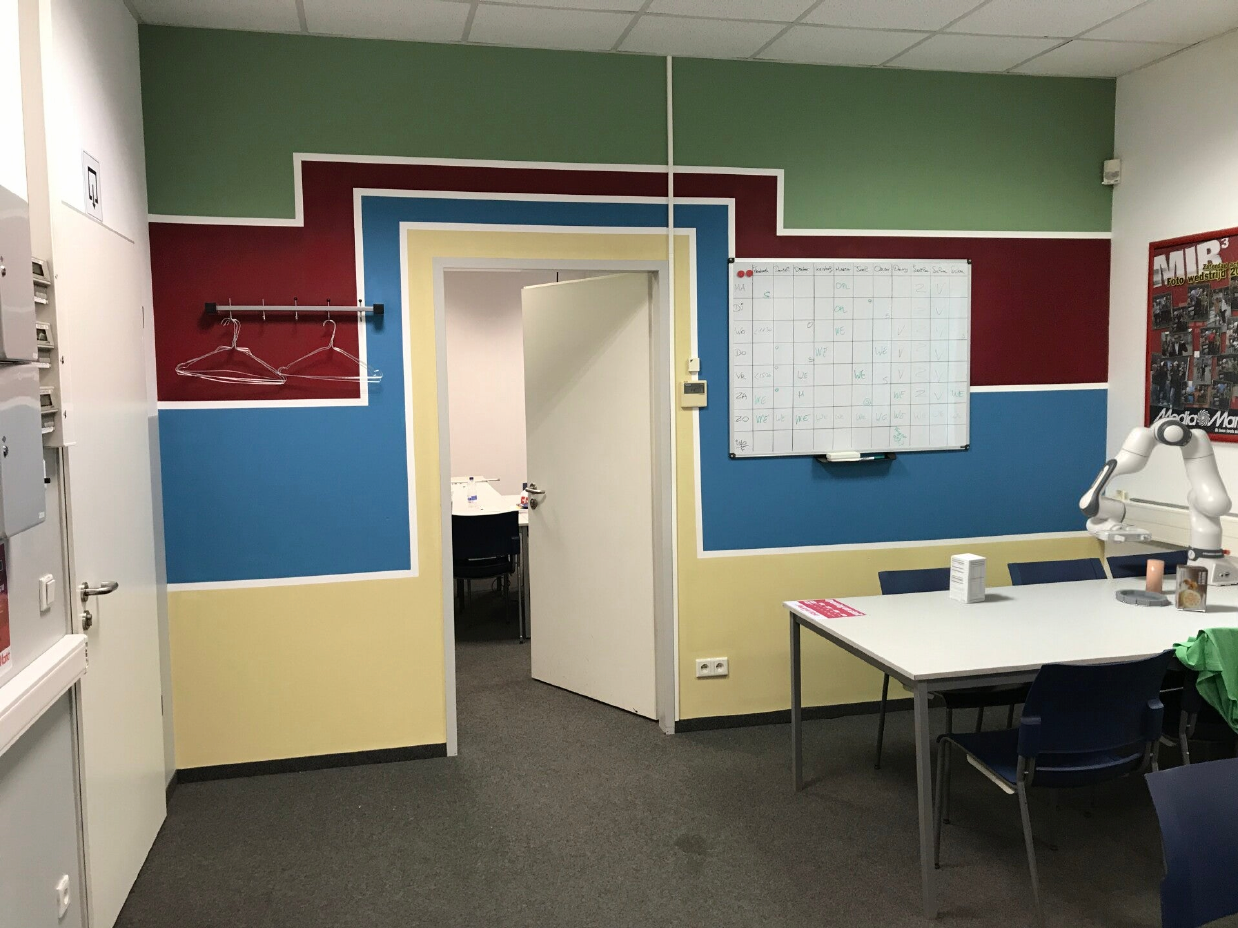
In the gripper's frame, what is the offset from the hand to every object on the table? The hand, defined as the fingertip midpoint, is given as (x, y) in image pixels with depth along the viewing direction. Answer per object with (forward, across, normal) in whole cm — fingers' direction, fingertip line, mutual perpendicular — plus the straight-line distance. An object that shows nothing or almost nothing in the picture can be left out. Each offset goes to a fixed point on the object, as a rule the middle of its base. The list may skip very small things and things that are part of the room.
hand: (1136, 539), depth 371 cm
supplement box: (+16, -78, +20) cm, 82 cm away
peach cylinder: (+12, 0, +19) cm, 23 cm away
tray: (+22, -12, +19) cm, 32 cm away
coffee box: (+35, -2, +19) cm, 40 cm away
